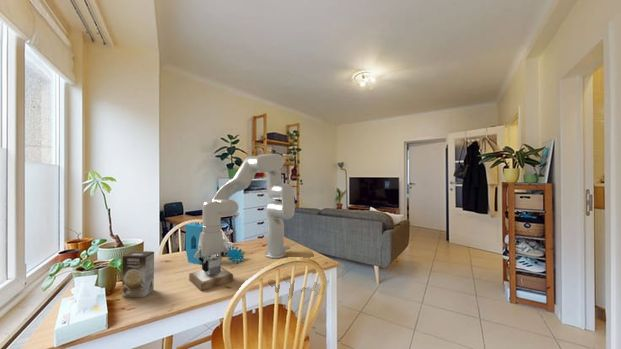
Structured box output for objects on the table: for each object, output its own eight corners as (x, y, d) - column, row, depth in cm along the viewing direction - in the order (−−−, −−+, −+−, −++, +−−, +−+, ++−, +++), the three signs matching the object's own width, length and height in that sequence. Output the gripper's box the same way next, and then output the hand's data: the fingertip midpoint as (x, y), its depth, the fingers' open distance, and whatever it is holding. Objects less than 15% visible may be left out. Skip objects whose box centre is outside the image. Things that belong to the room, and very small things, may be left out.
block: (184, 261, 137) (185, 224, 136) (192, 258, 141) (192, 222, 141) (202, 264, 132) (202, 226, 132) (209, 261, 137) (209, 224, 137)
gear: (230, 262, 131) (225, 246, 137) (225, 268, 134) (220, 252, 140) (248, 260, 139) (243, 244, 145) (243, 266, 142) (238, 250, 147)
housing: (213, 267, 119) (213, 253, 119) (220, 272, 113) (220, 257, 113) (202, 269, 115) (202, 255, 115) (209, 275, 109) (209, 260, 109)
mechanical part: (236, 253, 152) (236, 233, 152) (217, 258, 143) (218, 237, 142) (226, 249, 159) (226, 230, 159) (207, 253, 150) (208, 233, 150)
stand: (219, 271, 124) (219, 265, 124) (232, 281, 114) (233, 273, 114) (189, 280, 114) (189, 272, 114) (201, 291, 104) (201, 283, 104)
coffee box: (121, 297, 98) (121, 256, 98) (132, 289, 105) (132, 250, 105) (145, 297, 99) (145, 256, 98) (154, 289, 105) (154, 250, 105)
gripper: (225, 224, 122) (225, 262, 123) (188, 230, 110) (188, 271, 111) (233, 227, 117) (233, 266, 117) (194, 233, 105) (194, 277, 105)
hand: (211, 268), depth 114 cm, fingers closed on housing, 5 cm apart
